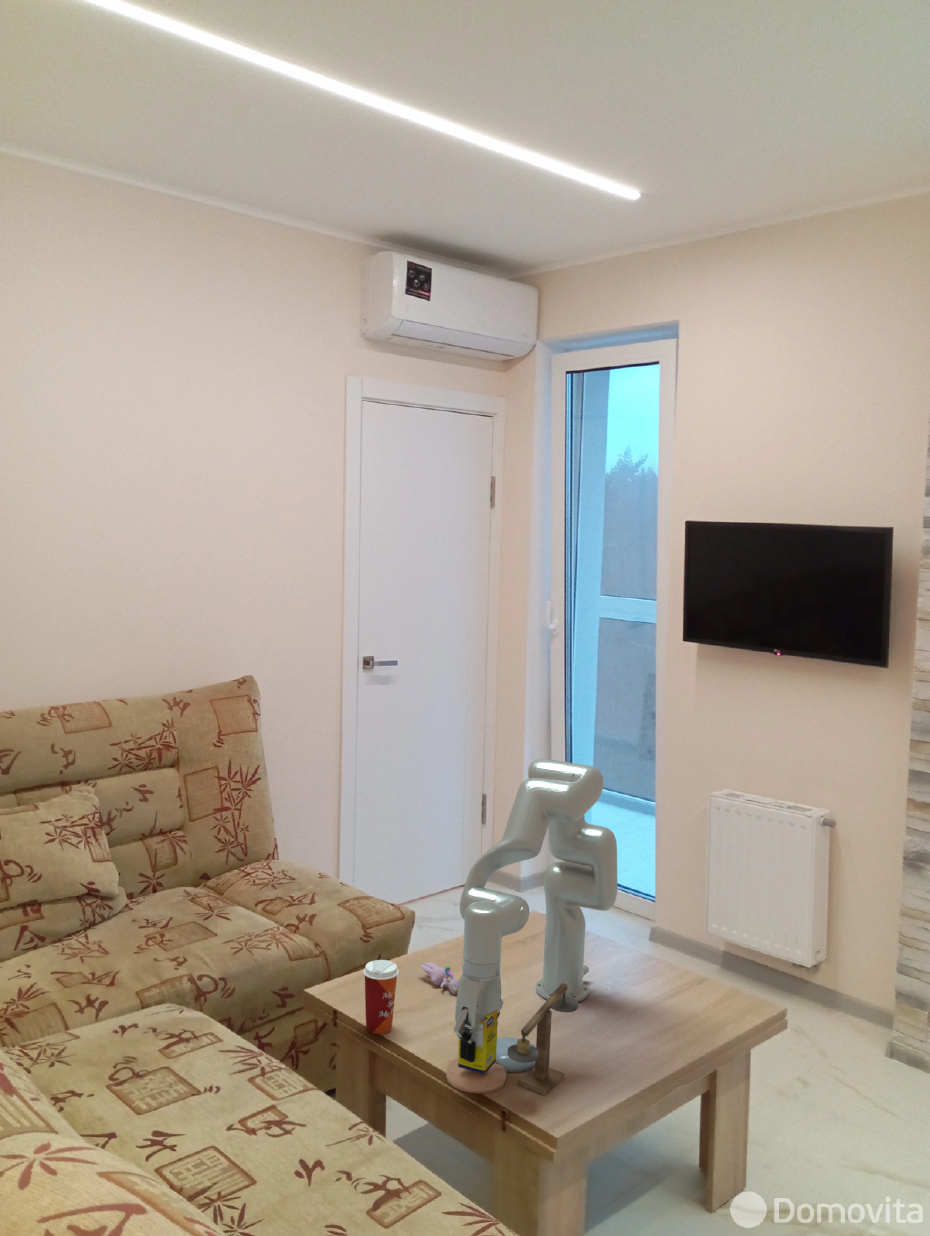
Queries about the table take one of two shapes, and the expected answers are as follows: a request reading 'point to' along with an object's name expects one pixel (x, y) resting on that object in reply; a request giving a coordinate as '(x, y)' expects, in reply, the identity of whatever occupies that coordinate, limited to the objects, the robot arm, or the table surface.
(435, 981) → the lilac plush figure
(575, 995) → the robot arm
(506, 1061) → the blue-grey flat disc
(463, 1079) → the peach flat disc
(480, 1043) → the supplement box
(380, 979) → the paper cup
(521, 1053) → the balance
